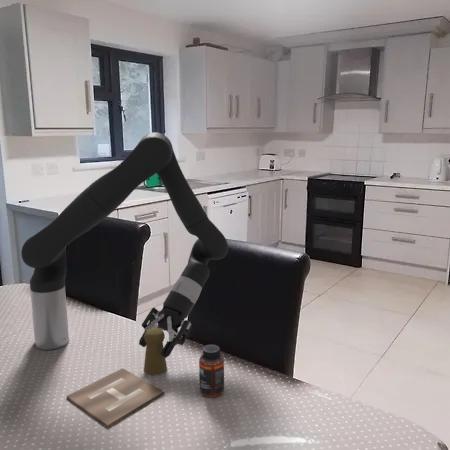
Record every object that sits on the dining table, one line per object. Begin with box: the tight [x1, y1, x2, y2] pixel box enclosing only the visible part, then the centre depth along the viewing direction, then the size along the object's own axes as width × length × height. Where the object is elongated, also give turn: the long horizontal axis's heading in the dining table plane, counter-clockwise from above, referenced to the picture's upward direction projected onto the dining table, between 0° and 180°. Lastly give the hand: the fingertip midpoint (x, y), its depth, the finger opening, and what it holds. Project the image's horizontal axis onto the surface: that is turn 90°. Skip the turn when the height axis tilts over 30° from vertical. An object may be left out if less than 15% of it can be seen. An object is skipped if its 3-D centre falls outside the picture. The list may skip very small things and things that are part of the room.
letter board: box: [66, 368, 165, 428], centre depth 102 cm, size 16×16×1 cm
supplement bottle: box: [198, 344, 225, 398], centre depth 103 cm, size 6×6×11 cm
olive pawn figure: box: [143, 328, 168, 376], centre depth 113 cm, size 6×6×11 cm
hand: (152, 351), depth 112 cm, fingers open, 8 cm apart
